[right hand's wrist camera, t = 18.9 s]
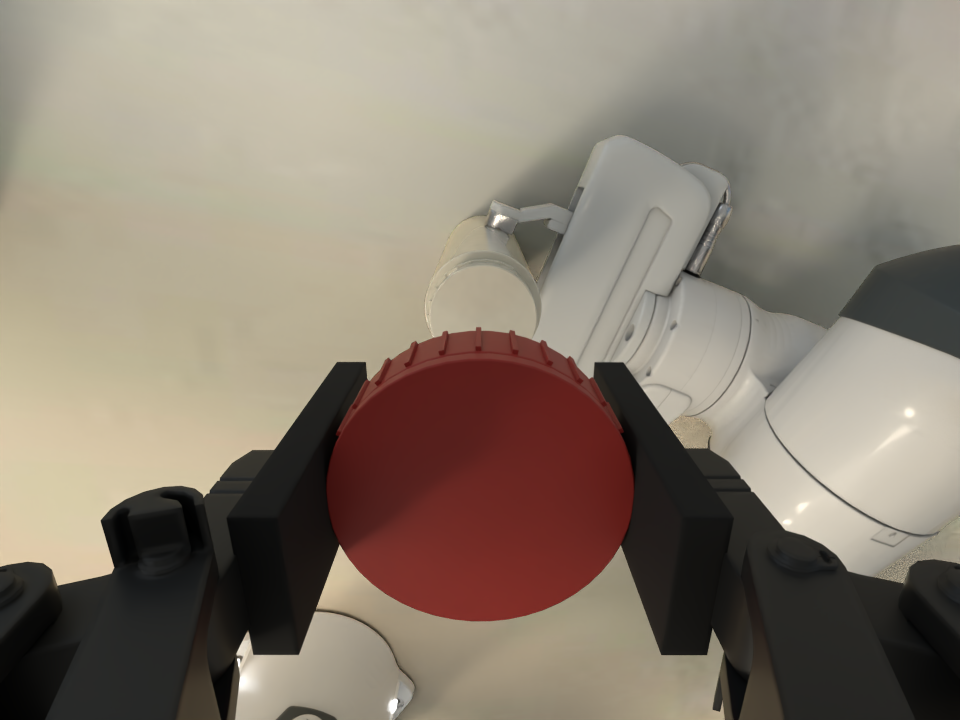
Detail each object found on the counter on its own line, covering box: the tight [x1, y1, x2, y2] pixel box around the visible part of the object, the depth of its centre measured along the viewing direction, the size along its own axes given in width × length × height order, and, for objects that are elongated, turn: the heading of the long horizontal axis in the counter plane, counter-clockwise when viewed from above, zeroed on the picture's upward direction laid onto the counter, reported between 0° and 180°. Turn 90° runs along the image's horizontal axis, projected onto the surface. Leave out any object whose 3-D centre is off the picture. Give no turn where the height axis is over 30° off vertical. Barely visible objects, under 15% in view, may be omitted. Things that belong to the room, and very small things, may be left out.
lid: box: [326, 327, 635, 621], centre depth 11 cm, size 6×6×2 cm
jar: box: [424, 215, 541, 340], centre depth 31 cm, size 5×5×18 cm
